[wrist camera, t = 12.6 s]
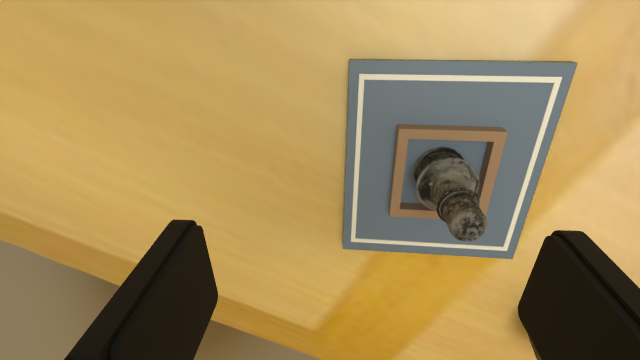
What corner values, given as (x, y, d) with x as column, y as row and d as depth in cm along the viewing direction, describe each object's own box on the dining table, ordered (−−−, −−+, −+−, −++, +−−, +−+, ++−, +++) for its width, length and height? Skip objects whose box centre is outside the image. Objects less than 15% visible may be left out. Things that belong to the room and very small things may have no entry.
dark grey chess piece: (480, 170, 35) (535, 240, 24) (434, 204, 37) (466, 282, 26) (443, 132, 33) (485, 189, 23) (398, 170, 36) (417, 238, 25)
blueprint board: (350, 59, 32) (349, 62, 30) (571, 61, 30) (588, 65, 28) (343, 243, 42) (342, 256, 40) (508, 253, 40) (517, 267, 38)
